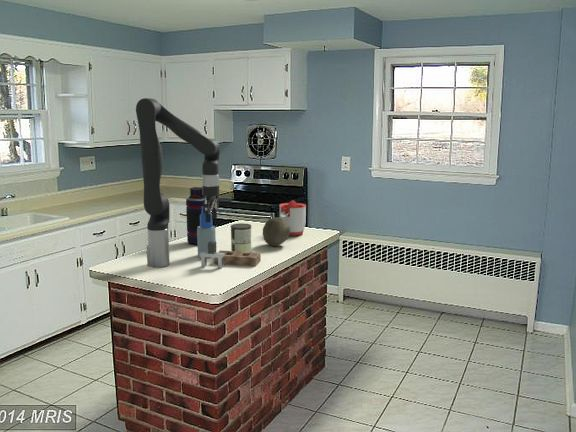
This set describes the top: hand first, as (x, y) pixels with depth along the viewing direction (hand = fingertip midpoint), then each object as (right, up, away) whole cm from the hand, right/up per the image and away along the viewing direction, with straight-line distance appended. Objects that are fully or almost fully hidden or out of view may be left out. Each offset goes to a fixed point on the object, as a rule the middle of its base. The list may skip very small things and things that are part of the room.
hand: (211, 220), depth 246 cm
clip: (0, -21, +4) cm, 22 cm away
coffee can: (+11, -17, +29) cm, 35 cm away
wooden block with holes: (+11, -20, +12) cm, 26 cm away
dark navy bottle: (-13, -13, +50) cm, 53 cm away
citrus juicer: (+37, -9, +70) cm, 80 cm away
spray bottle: (-5, -18, +23) cm, 30 cm away
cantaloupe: (+28, -14, +44) cm, 54 cm away
